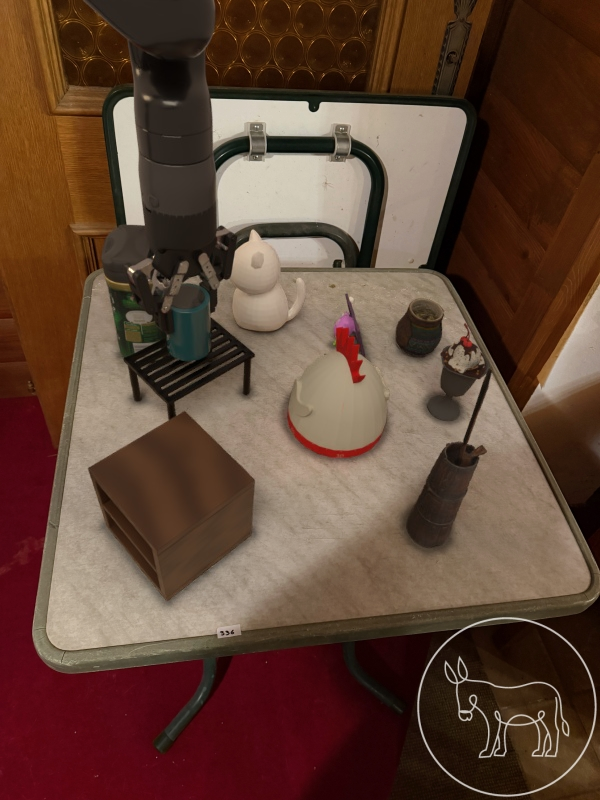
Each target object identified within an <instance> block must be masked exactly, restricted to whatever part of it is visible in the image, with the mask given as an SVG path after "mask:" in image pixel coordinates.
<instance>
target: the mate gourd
mask: <svg viewBox="0 0 600 800" xmlns="http://www.w3.org/2000/svg"><path fill="white" fill-rule="evenodd" d="M444 317H445V310H444V308H443V307H442V306H441V304H439V303H438V302H437V301H434V300H433V299H430V298H429V299H428V298H424V297H423V298H415V299H413V300H412V301H411V302H410V303H409V304H408V307H407V309H406V312H405V313H404V315H402V317H401V318H400V319H399V321H398V322H397V324H396V327H395V343H396V345H397V346H398V348H399V349H400V350H401V351H403V352H404V353H405V354H407V355H409V356H412V357H426V356H428V355H430V354H432V353H433V352H434V351H435V350H436V348H437V347H438V346H439V344H440V343H441V341H442V338H443V320H444Z"/></svg>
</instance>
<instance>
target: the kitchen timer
mask: <svg viewBox="0 0 600 800" xmlns="http://www.w3.org/2000/svg"><path fill="white" fill-rule="evenodd" d="M355 338H356V335H355V336H349V327H348V328H343V327H338V328H336V336H335V340H336V345H335V350H333V351H330V352H328V353H324V354H323V355H321V356H319V357H318V358H317V359H315V360H314V361H313V362H312V363H310V364H309V365H308V366H307V367H306V368H305V369H304V371H303V373H302V374H301V376H300V377H299V379H297V378H295V379H294V381H293V384H292V389H291V393H290V395H289V400H288V406H287V414H286V418H287V423H288V428H289V429H290V431H291V433H292V435H293V436H294V438H295V439H296V440H297V441H298V442H299V443H300V444H301V445H303V446H304V447H305V448H307V449H308V450H310V451H312V452H314V453H316V454H318V455H322V456H324V457H328V458H332V459H333V458H337V459H348V458H354V457H358V456H362V455H363V454H365V453H366V452H369V451H370V450H372V449H373V448H374V447H375V446H376V445H377V444H378V443H379V441H380V440H381V437H382V435H383V432H384V431H385V426H386V424H387V411H388V409H387V404H388V403H387V401H389V400H390V397H391V396H390V394H391V392H390V389H389V388H388V386H387V385H386V383H385V380H384V378H383V374H382V372H381V370H380V368H379V367H378V366H377V365H374V364H373V363H372V362H371V361H370V360H368V359H367V357H366V358H365V357H363V356H362V354H360V353H359V351H360V347H359V344H355Z"/></svg>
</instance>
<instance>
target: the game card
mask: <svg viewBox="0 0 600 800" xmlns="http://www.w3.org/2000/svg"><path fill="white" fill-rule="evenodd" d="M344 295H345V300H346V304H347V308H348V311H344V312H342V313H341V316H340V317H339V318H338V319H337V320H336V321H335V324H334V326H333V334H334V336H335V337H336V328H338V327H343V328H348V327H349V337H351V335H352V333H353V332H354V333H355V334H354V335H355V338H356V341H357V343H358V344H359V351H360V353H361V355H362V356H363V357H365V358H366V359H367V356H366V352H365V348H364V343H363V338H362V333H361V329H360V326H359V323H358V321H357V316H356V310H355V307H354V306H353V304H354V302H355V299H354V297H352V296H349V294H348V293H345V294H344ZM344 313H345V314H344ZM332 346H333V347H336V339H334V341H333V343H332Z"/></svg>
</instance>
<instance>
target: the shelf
mask: <svg viewBox="0 0 600 800" xmlns="http://www.w3.org/2000/svg"><path fill="white" fill-rule="evenodd" d="M87 471H88V473H89V477H90V480H91V483H92V486H93V489H94V492H95V495H96V498H97V501H98V505H99V508H100V511H101V514H102V517H103V520H104V523H105V526H106V528H107V529H108V530H109V531H110V532H111V535H113V536H114V538H115V539H116V540H117V542H118V543H119V544H120V545H121V546H122V548H123V549H124V550H125V552H126V553H127V554H128V555H129V557H130V558H131V559H132V561H134V562H135V564H136V565H137V567H138V568H139V569H140V570H141V571H142V573H143V574H144V575H145V577H146V578H147V579H148V580H149V581H150V583H151V584H152V585H153V586H154V588H155V589H156V590H157V591H158V593H159V594H160V595H161V596H162V598H163V599H164V600H165V601H166V602H169V601H170V600H171V599H172V598H174V597H175V596H176V595H177V594H178V593H179V592H181V591H182V590H184V589H185V588H186V587H188V586H189V585H190V584H191V583H193V582H194V581H195V580H196V579H198V578H199V577H200V576H201V575H202V574H204V573H205V572H206V571H208V570H209V569H210V568H211V567H213V566H214V565H216V564H217V563H218V562H219V561H220V560H222V559H223V558H224V557H226V555H228V554H229V553H230V552H232V551H233V550H234V549H236V548H237V547H239V545H240V544H242V543H243V542H244V541H246V540H247V539H248V538H249V537H251V536H252V528H253V516H254V515H253V514H254V513H253V512H254V498H255V486H256V485H255V484H256V479H255V478H254V477H253V476H252V475H251V474H250V473H249V472H248V471H247V470H246V469H245V468H244V467H243V466H242V465H241V464H240V463H239V462H238V461H237V460H236V459H235V458H233V456H232V455H231V454H230V453H229V452H228V451H227V450H226V449H224V448H223V447H222V446H221V444H219V442H217V440H215V439H214V438H213V436H212V435H210V433H208V432H207V431H206V430H205V429H204V428H203V427H202V426H201V425H200V424H199V423H198V422H197V421H196V420H195V418H193V417H192V416H191V415H190V414H189V413H188V412H187V411H185V410H183V411H182V412H180V413H179V414H176V416H175V417H173V418H172V419H170V420H167V421H165V422H163V423H161V424H159V425H158V426H156V427H154V428H153V429H151V430H150V431H148V432H146V433H145V434H143V435H142V436H139V437H137V438H136V439H134V440H133V441H131V442H130V443H128V444H126V445H124V446H123V447H121V448H119V449H118V450H116V451H114V452H112V453H111V454H109V455H107V456H106V457H104V458H102V459H100V460H99V461H97V462H96V463H94V464H92V465H91V466H88V468H87Z"/></svg>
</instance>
